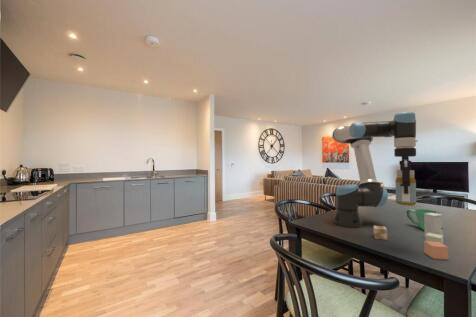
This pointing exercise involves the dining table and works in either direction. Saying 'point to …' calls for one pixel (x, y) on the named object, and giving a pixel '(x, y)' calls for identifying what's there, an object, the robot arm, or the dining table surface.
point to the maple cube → (380, 232)
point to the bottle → (399, 189)
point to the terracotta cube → (436, 250)
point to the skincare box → (433, 223)
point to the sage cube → (434, 237)
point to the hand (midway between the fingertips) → (405, 199)
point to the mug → (419, 216)
